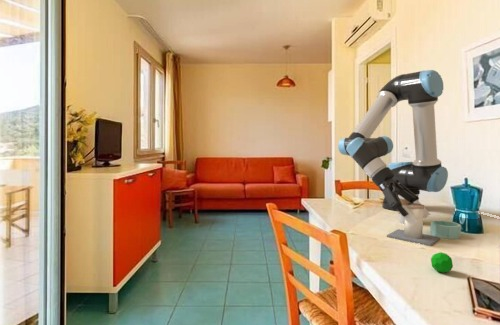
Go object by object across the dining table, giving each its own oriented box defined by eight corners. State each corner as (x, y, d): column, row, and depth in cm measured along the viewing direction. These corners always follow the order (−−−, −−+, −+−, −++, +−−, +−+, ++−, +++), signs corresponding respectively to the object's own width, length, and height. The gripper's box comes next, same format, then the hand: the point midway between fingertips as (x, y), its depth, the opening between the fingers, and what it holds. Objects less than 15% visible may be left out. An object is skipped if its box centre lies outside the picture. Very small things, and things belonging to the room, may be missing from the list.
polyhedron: (444, 276, 81) (445, 258, 81) (426, 269, 86) (426, 251, 86) (456, 273, 84) (457, 255, 83) (438, 266, 88) (439, 249, 88)
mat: (398, 230, 123) (398, 229, 123) (440, 238, 113) (440, 237, 113) (386, 236, 115) (386, 235, 115) (430, 246, 105) (430, 244, 105)
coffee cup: (421, 225, 130) (423, 188, 129) (398, 224, 132) (400, 187, 131) (415, 220, 138) (416, 185, 137) (393, 219, 140) (395, 184, 139)
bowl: (434, 230, 124) (435, 219, 124) (462, 235, 118) (463, 223, 117) (427, 235, 117) (428, 223, 117) (456, 241, 111) (457, 228, 111)
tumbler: (407, 232, 118) (408, 202, 117) (425, 236, 114) (426, 204, 113) (400, 236, 114) (402, 204, 113) (419, 239, 110) (421, 207, 109)
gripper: (385, 176, 132) (423, 220, 123) (356, 182, 114) (399, 233, 105) (399, 164, 128) (440, 208, 119) (372, 168, 110) (418, 219, 101)
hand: (421, 220), depth 112 cm, fingers open, 13 cm apart
